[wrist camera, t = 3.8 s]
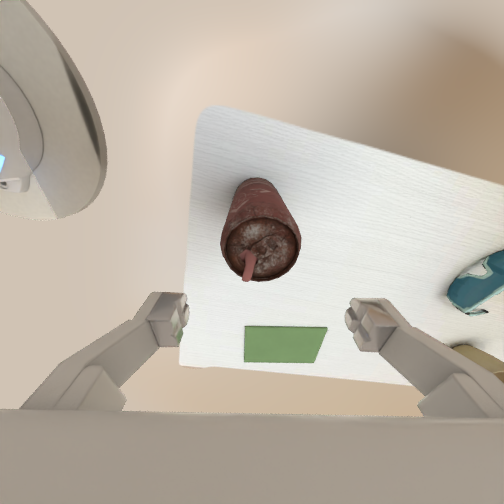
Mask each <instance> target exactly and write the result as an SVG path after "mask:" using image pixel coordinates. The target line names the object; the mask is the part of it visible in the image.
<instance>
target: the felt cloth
mask: <svg viewBox="0 0 504 504" xmlns="http://www.w3.org/2000/svg"><path fill="white" fill-rule="evenodd" d="M326 332H327V327H273V326H245V353H244V362H269V363H314V361H315V359H316V356H317V354H318V351H319V349H320V347H321V344H322V342H323V339H324V337H325V334H326Z"/></svg>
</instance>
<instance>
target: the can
mask: <svg viewBox="0 0 504 504" xmlns="http://www.w3.org/2000/svg"><path fill="white" fill-rule="evenodd" d="M220 246H221V251H222V255H223V257H224V258H225V261H226V262H227V264H228V266H229V267H230V269H231V270H232V271H234V272H235V273H236V274H237V275H238V276H240V277H242V280H243V281H245V282H248V281H250V280H251V281H257V282H260V281H270V280H273V279H276V278H279V277H281V276H282V275H284V274H285V273H287V272H288V271H289V270H290V269H291V268H292V267H293V265H294V264H295V262H296V260H297V258H298V255H299V251H300V249H301V235H300V231H299V228H298V226H297V224H296V222H295V221H294V219H293V217H292V215H291V214H290V212H289V210H288V209H287V207H286V205H285V203H284V202H283V200H282V198H281V196H280V195H279V193H278V191H277V190H276V188H275V187H274V186H273V184H272V183H270V182H269V181H267V180H266V179H262V178H250V179H248V180H246V181H244V182H243V183H242V184H241V185H240V186H239V187H238V188H237V190H236V192H235V194H234V197H233V201H232V204H231V207H230V210H229V213H228V216H227V219H226V222H225V225H224V228H223V231H222V235H221V242H220Z"/></svg>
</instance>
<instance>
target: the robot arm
mask: <svg viewBox="0 0 504 504" xmlns="http://www.w3.org/2000/svg"><path fill="white" fill-rule="evenodd" d="M42 155H43V138H42V133H41V129H40V126H39V123H38V120H37V118H36V116H35V113H34V111H33V109H32V107H31V106H30V104H29V102H28V100H27V99H26V97H25V95H24V94H23V92H22V91H21V90H20V88H19V87H18V85H17V84H16V83H15V82H14V80H13V79H12V78H11V77H10V75H9V74H8V73H7V72H6V71H5V70H4V69H3V68H2V66H1V65H0V190H4V191H8V192H13V193H21V192H27V191H28V189H29V185H30V175H31V173H32V172H33V171H34V170H35V169H36V168H37V166H38V165H39V163H40V161H41V159H42ZM186 301H187V296H186V294H185V293H170V292H152V293H151V294H150V295H149V296H148V298H147V299H146V301H145V302H144V303H143V305H142V306H141V308H140V309H139V311H138V312H137V313H136V315H135V316H134V318H133V319H132V320H128V321H126V322H124V323H123V324H121V325H120V326H118V327H117V328H115V329H113V330H112V331H110V332H109V333H107V334H106V335H104V336H102V337H101V338H99V339H97V340H96V341H94V342H93V343H91V344H90V345H88V346H86V347H85V348H83V349H82V350H80V351H78V352H77V353H75V354H74V355H72V356H71V357H69V358H67V359H66V360H64V361H63V362H61V363H60V364H59V365H58V366H57V367H56V368H55V369H54V370H53V372H52V373H51V374H50V375H49V376H48V377H47V378H46V379H45V381H44V382H43V383H42V384H41V385H40V386H39V387H38V388H37V389H36V391H35V392H34V393H33V394H32V395H31V396H30V397H29V398H28V400H27V401H26V402H25V403H24V404H23V405H22V406H21V408H19V409H0V504H504V383H503V382H502V381H500V380H499V379H498V378H497V377H496V376H495V375H494V374H493V373H491V372H490V371H488V370H486V369H485V368H483V367H481V366H480V365H478V364H476V363H475V362H473V361H471V360H470V359H468V358H466V357H465V356H463V355H461V354H460V353H458V352H456V351H455V350H453V349H451V348H450V347H448V346H446V345H445V344H443V343H441V342H440V341H438V340H436V339H434V338H433V337H431V336H429V335H428V334H426V333H424V332H423V331H421V330H419V329H418V328H416V327H412V326H411V325H410V324H409V323H408V322H407V321H406V319H405V318H404V317H403V316H402V315H401V314H400V313H399V312H398V310H397V309H396V308H395V307H394V306H393V305H392V304H391V303H390V301H389V300H387V299H385V298H353V299H352V300H351V301H350V303H349V304H350V306H351V307H350V308H349V309H347V310H346V313H345V322H346V325H347V327H348V329H349V330H350V331H351V332H353V333H354V335H353V339H354V341H355V343H356V344H357V346H358V348H359V350H360V351H364V352H379V354H380V355H381V356H382V357H383V358H384V359H385V360H386V361H388V362H389V363H390V364H391V365H392V366H393V367H394V368H395V369H396V370H397V371H398V372H399V373H400V374H402V375H403V376H404V377H405V378H406V379H407V380H408V381H409V382H410V383H411V384H412V385H413V386H415V387H416V388H417V389H418V390H419V391H420V392H421V393H422V394H423V395H424V396H425V397H424V398H423V399H422V400H420V401H419V402H418V405H417V406H418V408H419V409H420V411H421V413H422V414H423V416H424V417H408V416H407V417H405V416H404V417H403V416H355V415H354V416H353V415H303V414H250V413H249V414H246V413H194V412H140V411H122V409H123V406H124V405H125V402H126V397H125V395H124V394H123V393H122V391H121V390H120V389H119V388H120V386H122V385H123V384H124V383H125V382H126V381H127V380H128V379H129V378H130V377H131V375H133V374H134V373H135V372H136V371H137V370H138V369H139V368H140V367H141V366H142V365H143V364H144V363H145V362H146V361H147V360H148V359H149V358H150V357H151V356H152V355H153V354H154V353H155V352H156V351H157V350H158V349H159V347H178V346H179V343H180V341H181V338H182V336H183V330H182V328H183V327H185V326H186V325H187V322H188V318H189V305H187V304H186Z"/></svg>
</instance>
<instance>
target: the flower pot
mask: <svg viewBox="0 0 504 504" xmlns="http://www.w3.org/2000/svg"><path fill="white" fill-rule="evenodd" d="M452 349H453V350H455V351H456V352H458V353H460V354H461V355H463V356H465V357H466V358H468V359H470V360H471V361H473V362H475V363H476V364H478V365H480V366H481V367H483V368H485V369H486V370H488V371H490V372H491V373H493V374H494V375H495V376H496V377H497V378H498V379H499V380H500V381H502V382H503V383H504V362H502V361H500V360H499V359H497V358H495V357H494V356H492V355H490V354H488V353H486V352H484V351H481V350H479V349H477V348H475V347H472V346H469V345H459V346H456V347H453V348H452Z"/></svg>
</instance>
